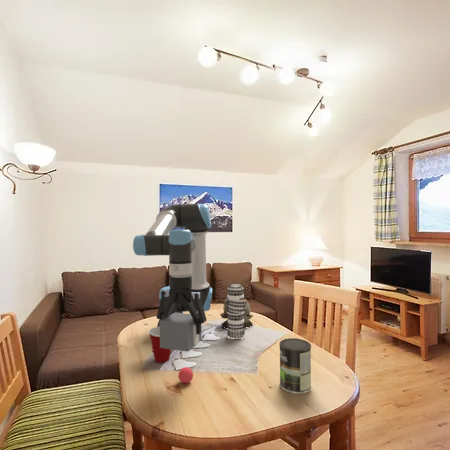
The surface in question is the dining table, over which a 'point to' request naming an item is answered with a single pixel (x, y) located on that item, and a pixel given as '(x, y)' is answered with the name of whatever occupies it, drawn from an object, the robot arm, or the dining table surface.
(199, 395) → the dining table surface
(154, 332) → the plastic cup
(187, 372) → the ball
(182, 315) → the grey cube
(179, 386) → the dining table surface
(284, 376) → the coffee can
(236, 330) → the decorative candle
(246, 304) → the owl figurine
